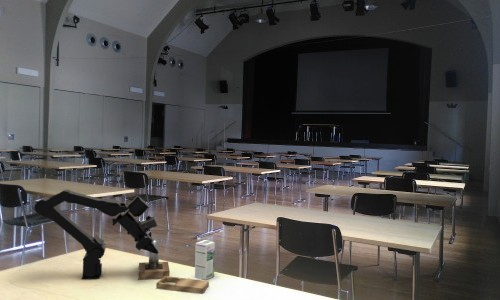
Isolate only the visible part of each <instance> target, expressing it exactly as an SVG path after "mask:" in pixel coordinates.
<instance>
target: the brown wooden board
mask: <svg viewBox="0 0 500 300" xmlns="http://www.w3.org/2000/svg"><path fill="white" fill-rule="evenodd" d="M209 286H210V282H209V280H203V279H194V278H186V277H184V278H183V277H178V276H170V275H169V276H164V277H163V278H162V279H158V281H157V282H156V285H155V287H156V288H155V289H158V290H167V291H175V292H185V293H191V294H192V293H193V294H199V295H200V294H201V295H203V294H204V293H205V292H206V291H207V289H208V288H209Z"/></svg>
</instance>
